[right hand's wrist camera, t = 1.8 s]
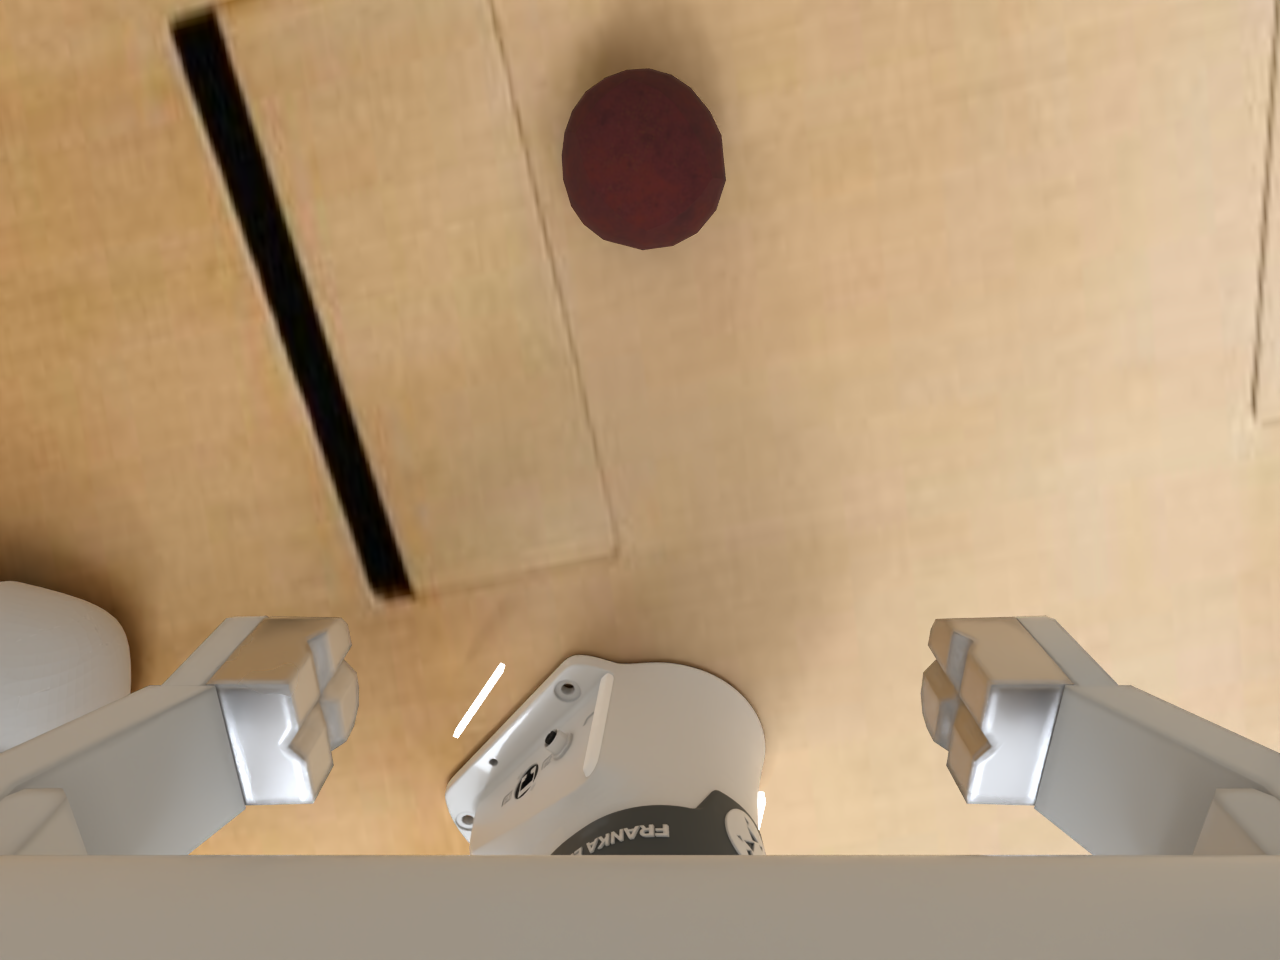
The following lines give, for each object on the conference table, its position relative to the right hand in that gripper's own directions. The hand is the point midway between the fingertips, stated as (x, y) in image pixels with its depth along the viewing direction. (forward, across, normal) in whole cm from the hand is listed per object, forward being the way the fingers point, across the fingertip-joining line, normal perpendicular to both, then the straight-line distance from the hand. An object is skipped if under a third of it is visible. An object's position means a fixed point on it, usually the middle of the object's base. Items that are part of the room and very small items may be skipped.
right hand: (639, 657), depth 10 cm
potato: (+32, 0, -7) cm, 32 cm away
